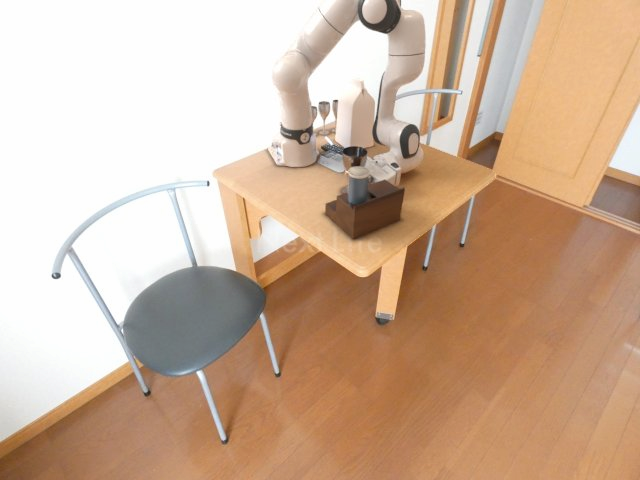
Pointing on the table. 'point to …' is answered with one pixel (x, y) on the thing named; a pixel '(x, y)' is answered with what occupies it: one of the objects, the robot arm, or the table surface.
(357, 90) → the milk
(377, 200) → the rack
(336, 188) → the table surface
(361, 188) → the tumbler
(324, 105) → the goblet set
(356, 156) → the wine glass
